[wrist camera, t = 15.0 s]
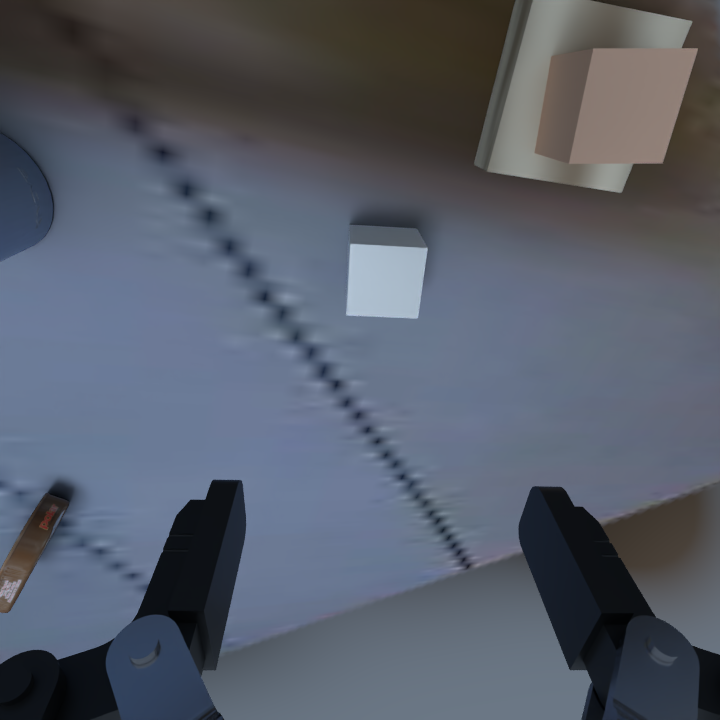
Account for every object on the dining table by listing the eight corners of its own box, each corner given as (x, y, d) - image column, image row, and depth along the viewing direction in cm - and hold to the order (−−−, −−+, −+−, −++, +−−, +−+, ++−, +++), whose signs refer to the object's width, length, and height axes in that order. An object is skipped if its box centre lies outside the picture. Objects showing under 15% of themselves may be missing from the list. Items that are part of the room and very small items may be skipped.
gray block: (472, 163, 35) (487, 171, 31) (513, 1, 30) (535, -11, 26) (594, 183, 36) (621, 192, 32) (653, 29, 31) (692, 21, 27)
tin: (55, 477, 49) (4, 543, 42) (84, 488, 50) (40, 555, 43) (16, 552, 55) (-34, 622, 48) (43, 561, 56) (-2, 631, 49)
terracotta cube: (534, 153, 31) (568, 163, 26) (551, 55, 28) (593, 48, 23) (613, 152, 31) (662, 163, 26) (638, 56, 28) (698, 48, 24)
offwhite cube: (345, 288, 39) (346, 315, 35) (349, 224, 37) (350, 243, 32) (408, 291, 40) (417, 318, 35) (416, 228, 37) (427, 248, 32)
